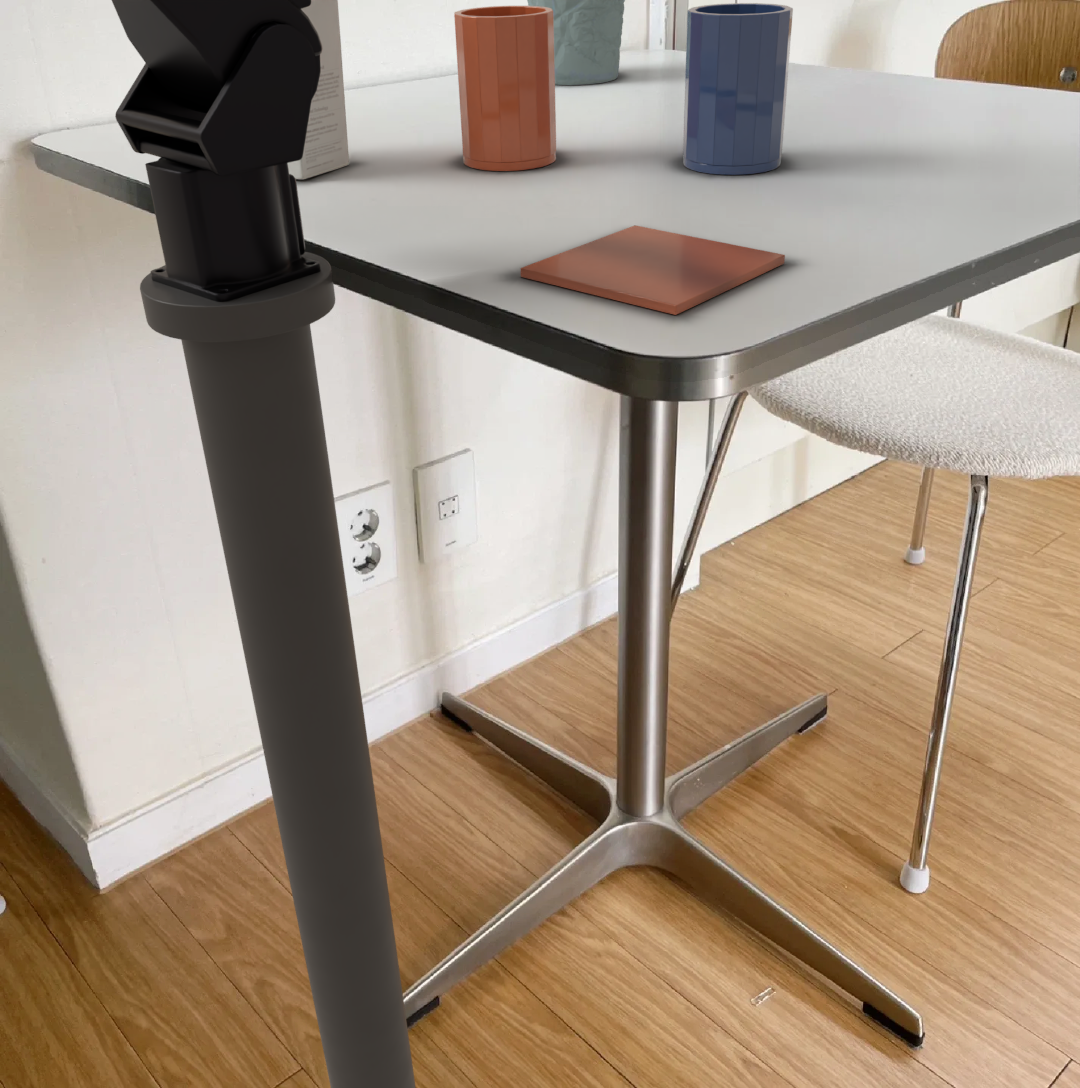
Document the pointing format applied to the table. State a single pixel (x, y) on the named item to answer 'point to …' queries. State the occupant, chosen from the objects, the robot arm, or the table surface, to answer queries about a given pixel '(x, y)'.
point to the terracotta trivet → (653, 268)
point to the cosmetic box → (325, 100)
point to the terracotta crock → (506, 86)
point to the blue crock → (736, 87)
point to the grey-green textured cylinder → (585, 39)
